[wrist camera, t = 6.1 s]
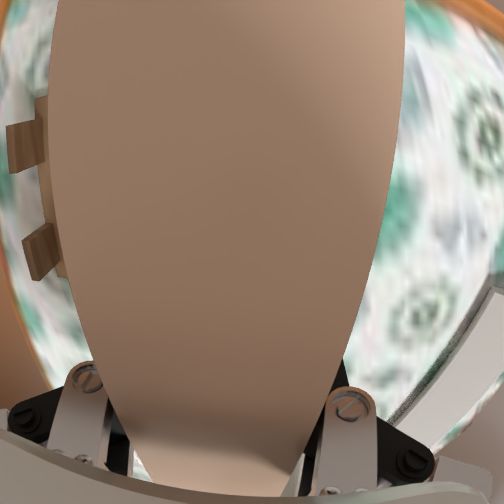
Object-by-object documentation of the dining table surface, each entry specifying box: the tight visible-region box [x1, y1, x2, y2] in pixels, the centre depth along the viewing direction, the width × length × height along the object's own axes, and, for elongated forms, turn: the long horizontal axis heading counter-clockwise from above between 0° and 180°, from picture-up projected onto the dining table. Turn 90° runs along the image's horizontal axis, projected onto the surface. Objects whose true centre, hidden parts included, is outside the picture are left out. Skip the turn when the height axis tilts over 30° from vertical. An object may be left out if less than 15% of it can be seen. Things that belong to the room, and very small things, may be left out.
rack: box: [6, 96, 68, 281], centre depth 22 cm, size 9×18×5 cm, turn 176°
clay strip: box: [48, 0, 405, 497], centre depth 9 cm, size 4×22×6 cm, turn 176°
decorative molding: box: [392, 286, 504, 448], centre depth 34 cm, size 34×5×10 cm
